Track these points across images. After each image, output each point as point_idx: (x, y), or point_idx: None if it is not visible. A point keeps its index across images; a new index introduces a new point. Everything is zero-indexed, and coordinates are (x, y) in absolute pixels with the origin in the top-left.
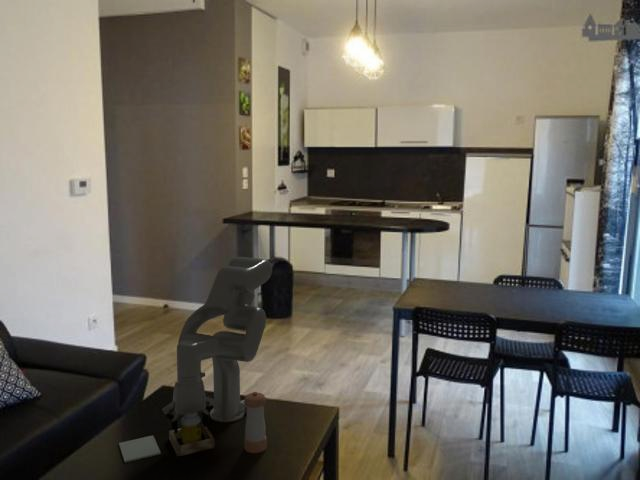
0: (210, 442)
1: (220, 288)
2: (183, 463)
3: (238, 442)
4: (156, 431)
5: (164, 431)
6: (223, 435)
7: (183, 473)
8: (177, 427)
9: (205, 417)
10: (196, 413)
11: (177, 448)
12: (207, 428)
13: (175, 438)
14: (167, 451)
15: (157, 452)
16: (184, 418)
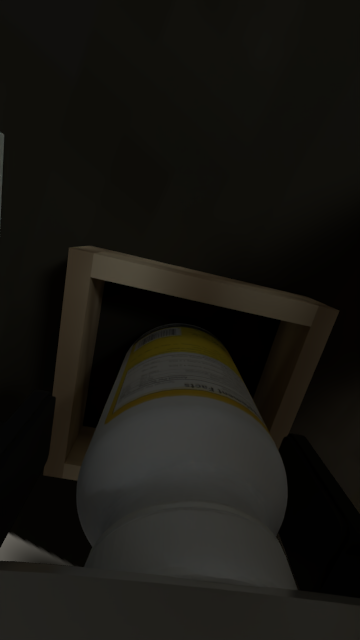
0: None
1: None
2: (67, 491)
3: (349, 489)
4: (50, 58)
5: (103, 107)
6: (348, 401)
7: (40, 543)
8: (24, 502)
9: (306, 588)
10: None
11: (44, 472)
12: (305, 391)
13: (72, 376)
14: (35, 363)
15: None
16: (102, 533)
